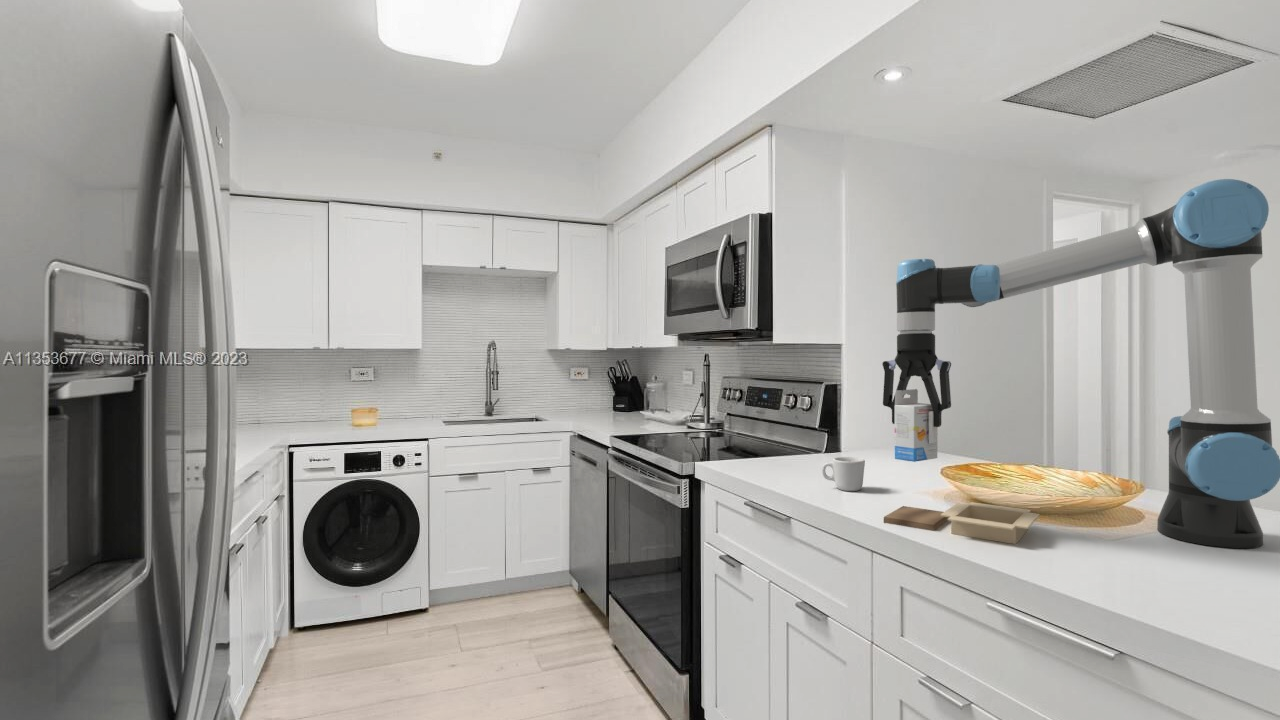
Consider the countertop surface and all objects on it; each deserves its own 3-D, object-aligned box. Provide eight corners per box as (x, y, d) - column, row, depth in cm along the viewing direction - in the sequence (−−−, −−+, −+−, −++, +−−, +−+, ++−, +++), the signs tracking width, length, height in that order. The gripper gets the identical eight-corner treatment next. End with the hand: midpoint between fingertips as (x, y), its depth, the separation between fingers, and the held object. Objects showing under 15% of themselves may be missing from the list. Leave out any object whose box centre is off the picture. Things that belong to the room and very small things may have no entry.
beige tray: (1041, 528, 130) (1041, 511, 130) (1025, 549, 117) (1025, 530, 117) (960, 516, 140) (960, 500, 140) (936, 534, 127) (936, 517, 127)
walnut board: (950, 518, 139) (950, 512, 139) (933, 530, 130) (933, 524, 130) (903, 511, 146) (903, 505, 146) (883, 522, 137) (883, 516, 137)
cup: (820, 490, 168) (820, 460, 168) (823, 484, 175) (823, 455, 175) (864, 493, 164) (864, 462, 164) (865, 487, 171) (865, 457, 171)
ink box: (915, 462, 133) (914, 391, 133) (894, 459, 137) (893, 390, 137) (938, 458, 138) (938, 389, 138) (917, 455, 142) (916, 388, 142)
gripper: (968, 331, 134) (969, 442, 134) (877, 334, 146) (878, 435, 147) (959, 331, 128) (959, 447, 129) (865, 333, 141) (865, 439, 141)
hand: (916, 440), depth 138 cm, fingers closed on ink box, 6 cm apart
